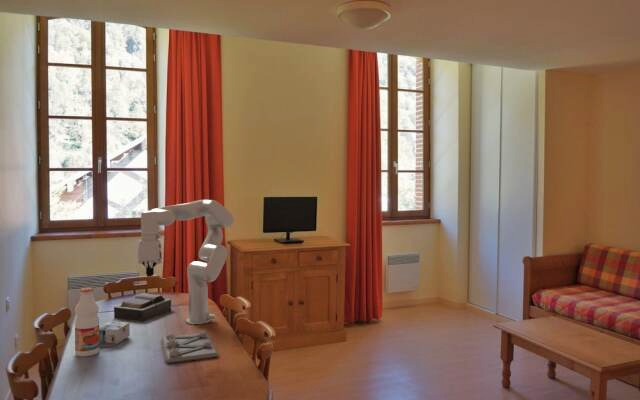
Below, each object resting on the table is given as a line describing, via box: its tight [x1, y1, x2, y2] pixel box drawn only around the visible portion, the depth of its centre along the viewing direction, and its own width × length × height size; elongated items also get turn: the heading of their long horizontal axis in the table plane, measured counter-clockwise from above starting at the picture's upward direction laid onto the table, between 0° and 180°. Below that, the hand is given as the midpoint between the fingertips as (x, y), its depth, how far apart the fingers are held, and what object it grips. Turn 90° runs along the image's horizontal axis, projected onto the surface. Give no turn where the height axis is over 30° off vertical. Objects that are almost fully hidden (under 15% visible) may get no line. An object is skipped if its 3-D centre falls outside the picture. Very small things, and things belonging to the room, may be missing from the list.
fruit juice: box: [74, 286, 100, 358], centre depth 207 cm, size 9×9×28 cm
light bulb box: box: [99, 321, 130, 345], centre depth 223 cm, size 11×7×11 cm
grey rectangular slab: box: [160, 329, 219, 365], centre depth 213 cm, size 30×22×7 cm
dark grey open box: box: [113, 292, 172, 323], centre depth 266 cm, size 23×27×10 cm
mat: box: [99, 342, 121, 348], centre depth 223 cm, size 14×16×1 cm
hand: (149, 276), depth 227 cm, fingers closed
